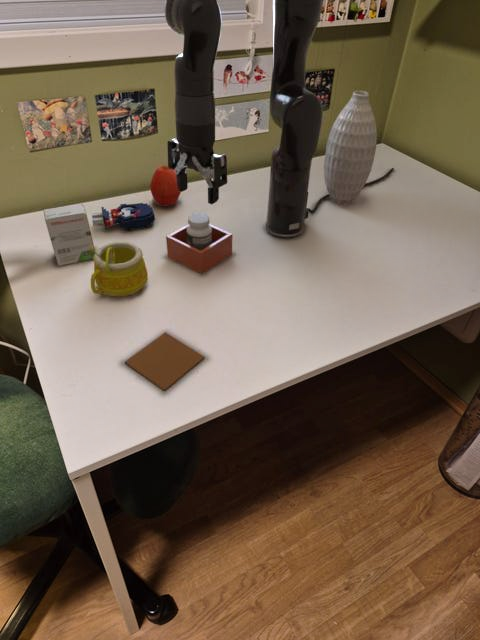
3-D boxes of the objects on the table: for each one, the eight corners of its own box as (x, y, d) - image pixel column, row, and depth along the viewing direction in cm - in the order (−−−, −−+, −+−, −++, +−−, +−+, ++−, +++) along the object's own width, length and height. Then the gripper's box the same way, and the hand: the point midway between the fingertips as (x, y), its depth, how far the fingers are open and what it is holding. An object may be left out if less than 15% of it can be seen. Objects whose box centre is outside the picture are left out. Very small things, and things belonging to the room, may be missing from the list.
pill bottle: (187, 249, 111) (185, 211, 104) (211, 248, 111) (211, 210, 105) (187, 262, 106) (185, 224, 100) (212, 262, 107) (212, 223, 100)
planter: (198, 238, 114) (197, 218, 111) (232, 254, 109) (232, 233, 106) (167, 256, 108) (165, 236, 104) (201, 274, 103) (200, 253, 100)
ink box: (93, 248, 110) (83, 202, 102) (97, 259, 107) (87, 212, 99) (55, 255, 107) (42, 208, 100) (57, 266, 104) (44, 219, 96)
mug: (125, 264, 105) (117, 216, 97) (159, 283, 100) (153, 234, 92) (77, 290, 98) (65, 240, 90) (111, 312, 93) (101, 262, 85)
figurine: (90, 204, 117) (150, 198, 120) (93, 219, 120) (151, 212, 123) (92, 221, 111) (155, 214, 114) (95, 236, 114) (156, 229, 117)
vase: (370, 197, 133) (395, 91, 115) (353, 215, 125) (376, 104, 107) (330, 185, 138) (346, 82, 120) (311, 202, 130) (326, 94, 112)
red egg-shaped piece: (177, 212, 124) (175, 173, 117) (147, 209, 125) (143, 170, 118) (185, 198, 130) (183, 160, 123) (156, 195, 131) (153, 157, 124)
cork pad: (165, 334, 88) (165, 332, 88) (204, 358, 84) (204, 356, 84) (124, 363, 83) (124, 361, 82) (164, 391, 78) (164, 389, 78)
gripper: (237, 121, 87) (234, 201, 98) (182, 104, 94) (185, 180, 104) (210, 131, 83) (211, 213, 93) (154, 112, 89) (161, 192, 100)
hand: (197, 196), depth 99 cm, fingers open, 8 cm apart
